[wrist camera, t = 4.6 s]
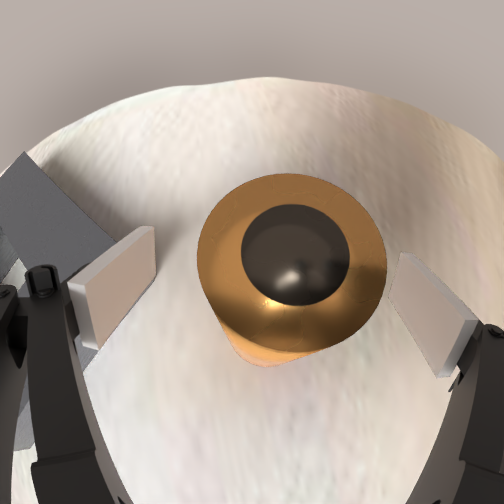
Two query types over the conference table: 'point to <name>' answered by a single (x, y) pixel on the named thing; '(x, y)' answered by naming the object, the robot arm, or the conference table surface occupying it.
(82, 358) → the jig
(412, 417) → the conference table surface
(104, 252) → the robot arm
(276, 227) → the bushing
